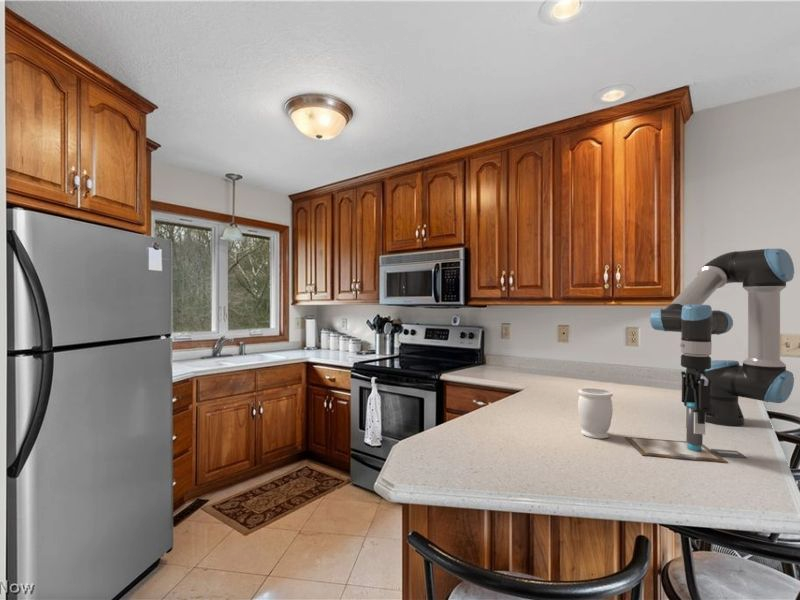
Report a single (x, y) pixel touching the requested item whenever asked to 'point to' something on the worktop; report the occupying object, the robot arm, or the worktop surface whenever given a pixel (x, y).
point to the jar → (595, 412)
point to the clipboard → (672, 450)
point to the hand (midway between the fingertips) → (694, 430)
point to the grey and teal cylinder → (692, 430)
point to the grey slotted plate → (728, 453)
